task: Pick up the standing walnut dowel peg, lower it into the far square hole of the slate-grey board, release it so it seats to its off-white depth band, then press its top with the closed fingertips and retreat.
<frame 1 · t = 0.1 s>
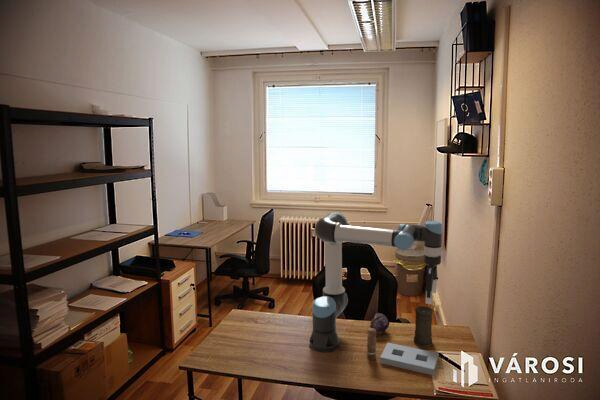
hand: (430, 298, 195), 28 cm above the table, fingers open, 13 cm apart
rock: (379, 331, 221), on the table
walnut peg: (371, 357, 197), on the table
board: (409, 361, 193), on the table
container: (422, 343, 209), on the table
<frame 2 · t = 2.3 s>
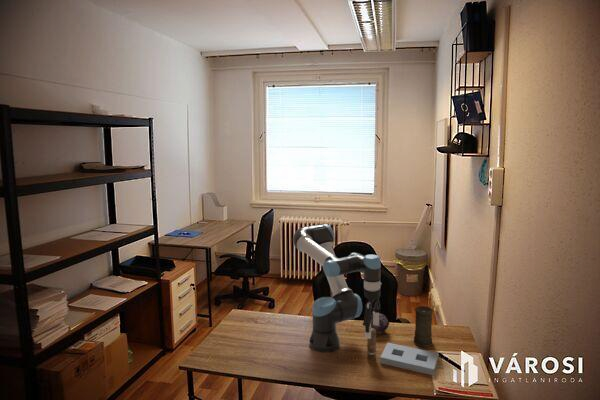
hand: (372, 331, 194), 13 cm above the table, fingers open, 13 cm apart
nothing on the table moved.
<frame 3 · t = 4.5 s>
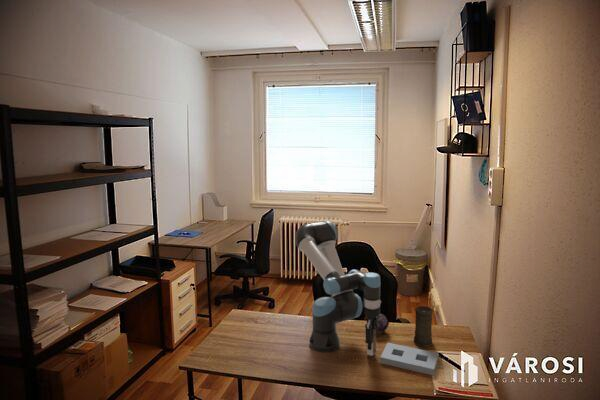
hand: (371, 352, 196), 3 cm above the table, fingers closed on walnut peg, 4 cm apart
walnut peg: (371, 357, 197), on the table, touching gripper
everything else where it was.
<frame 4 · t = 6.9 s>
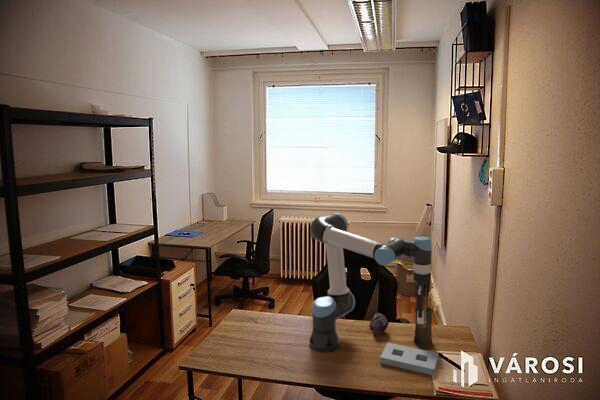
hand: (421, 321, 187), 21 cm above the table, fingers closed on walnut peg, 4 cm apart
walnut peg: (421, 326, 187), point 19 cm above the table, touching gripper
everything else where it was.
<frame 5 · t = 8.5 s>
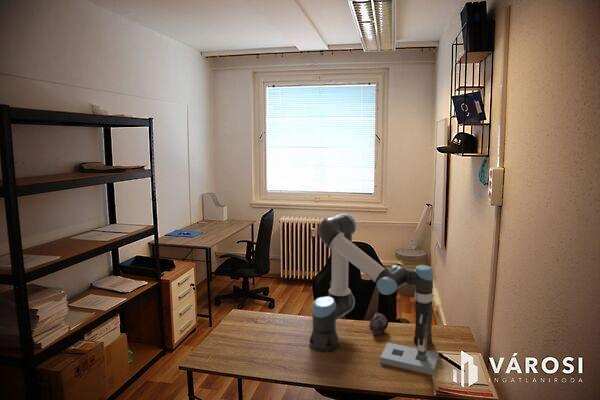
hand: (422, 348, 189), 8 cm above the table, fingers closed on walnut peg, 4 cm apart
walnut peg: (422, 353, 190), point 5 cm above the table, touching gripper
everything else where it was.
when the fingers open (4 cm above the table, at t = 9.8 s): walnut peg drops 2 cm, resting in board.
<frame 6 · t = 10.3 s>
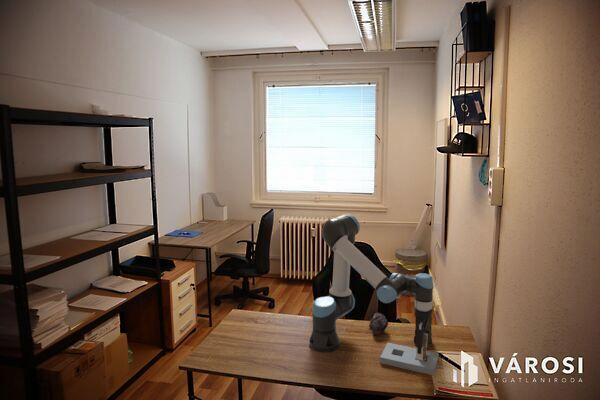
hand: (421, 352, 190), 6 cm above the table, fingers open, 11 cm apart
walnut peg: (421, 363, 191), resting in board
everything else where it was.
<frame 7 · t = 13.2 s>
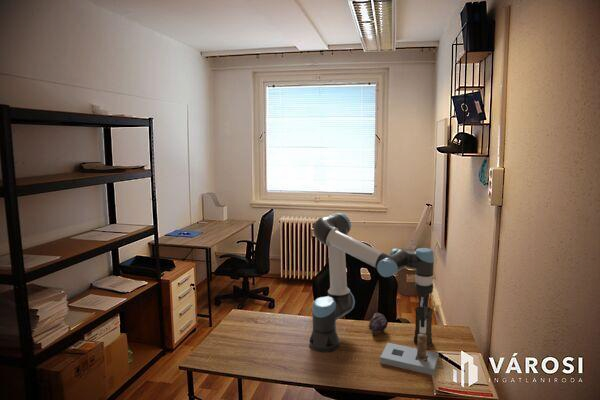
hand: (422, 332, 188), 16 cm above the table, fingers closed
nothing on the table moved.
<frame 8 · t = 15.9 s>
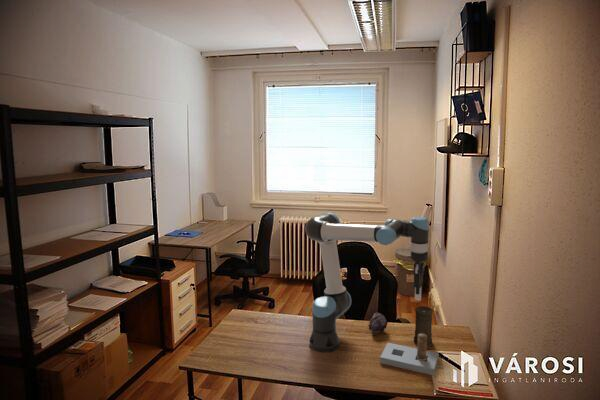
hand: (417, 299, 192), 28 cm above the table, fingers closed
nothing on the table moved.
at the end: walnut peg 0.0 cm from the target spot on the board, point 0.0 cm above the board's base; walnut peg tilted 1°; the gripper is holding nothing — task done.
